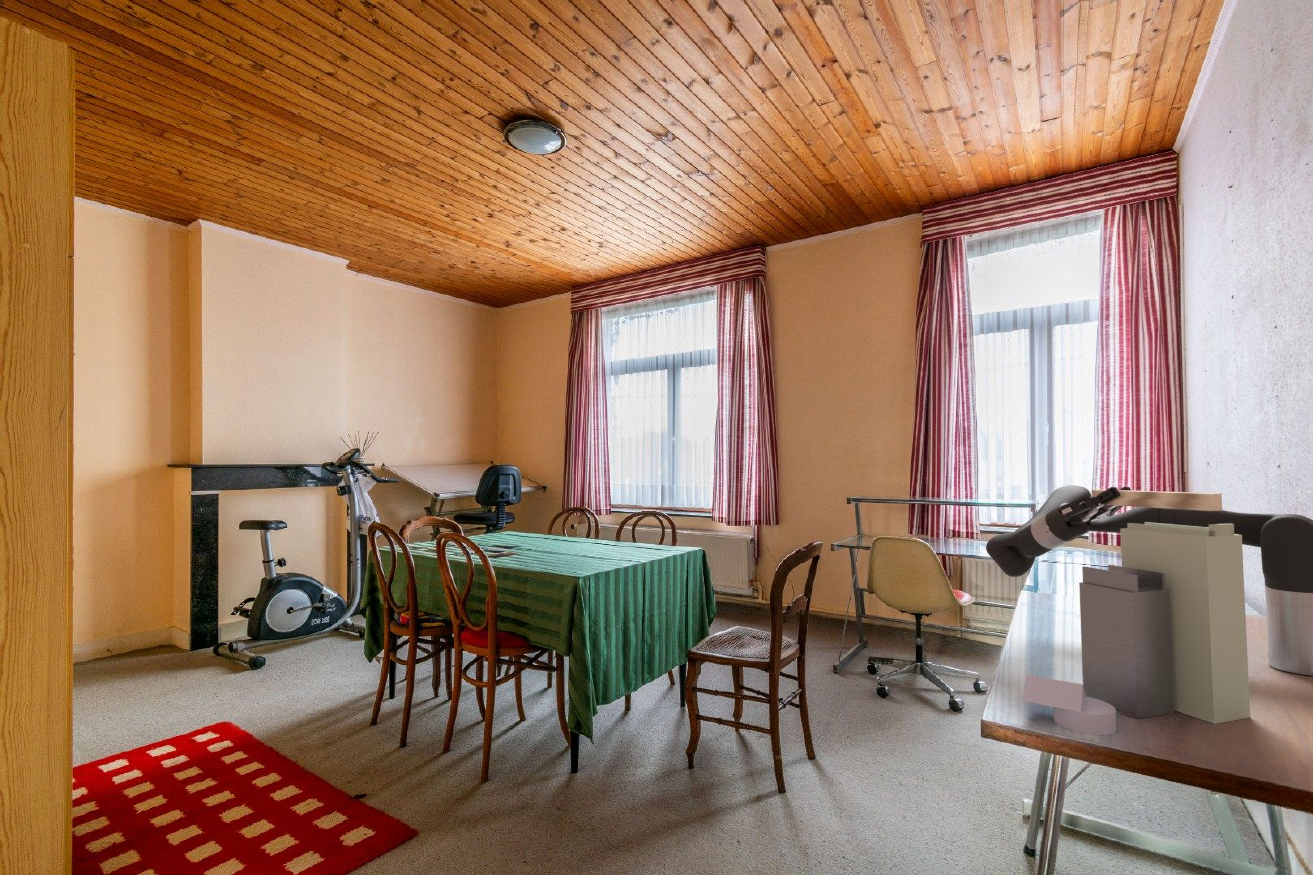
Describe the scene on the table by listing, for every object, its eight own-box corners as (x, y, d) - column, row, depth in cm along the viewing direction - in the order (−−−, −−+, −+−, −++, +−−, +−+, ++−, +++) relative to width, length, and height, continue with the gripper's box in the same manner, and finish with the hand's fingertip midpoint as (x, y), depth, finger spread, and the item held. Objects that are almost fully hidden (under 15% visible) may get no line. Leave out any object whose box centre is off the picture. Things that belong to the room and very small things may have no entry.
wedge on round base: (1023, 719, 110) (1114, 739, 102) (1022, 681, 110) (1113, 697, 102) (1031, 704, 117) (1117, 721, 109) (1030, 667, 118) (1116, 682, 109)
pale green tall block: (1126, 693, 122) (1119, 518, 124) (1160, 688, 125) (1153, 516, 126) (1214, 723, 108) (1205, 525, 109) (1250, 717, 110) (1241, 523, 112)
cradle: (1083, 698, 120) (1078, 566, 121) (1118, 693, 122) (1113, 564, 123) (1136, 719, 110) (1131, 575, 111) (1173, 712, 113) (1168, 572, 114)
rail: (1092, 504, 132) (1091, 489, 132) (1103, 503, 133) (1102, 489, 133) (1210, 510, 111) (1209, 493, 111) (1222, 510, 112) (1221, 493, 112)
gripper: (1091, 540, 141) (1159, 505, 127) (1042, 543, 137) (1107, 508, 123) (1074, 510, 145) (1138, 473, 131) (1026, 512, 141) (1087, 475, 127)
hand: (1123, 490), depth 127 cm, fingers closed on rail, 3 cm apart
